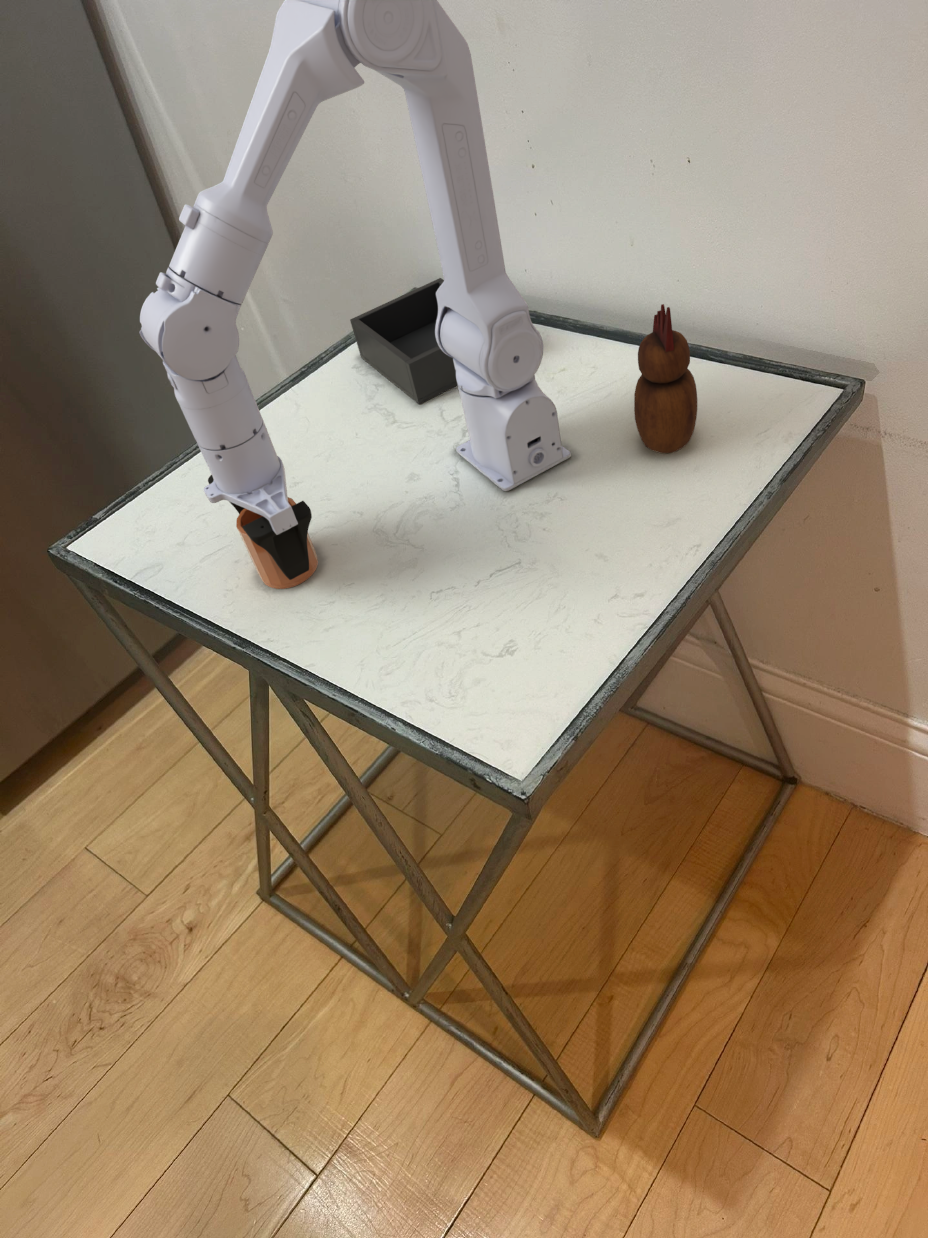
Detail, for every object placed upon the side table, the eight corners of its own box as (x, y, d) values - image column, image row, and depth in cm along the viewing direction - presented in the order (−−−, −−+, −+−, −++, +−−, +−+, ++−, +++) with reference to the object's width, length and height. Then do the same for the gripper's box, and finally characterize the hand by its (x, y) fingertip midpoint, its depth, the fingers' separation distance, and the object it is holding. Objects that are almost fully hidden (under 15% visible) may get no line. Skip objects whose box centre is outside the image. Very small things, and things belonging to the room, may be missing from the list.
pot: (327, 569, 87) (306, 515, 83) (274, 597, 86) (249, 545, 81) (303, 539, 91) (282, 487, 87) (252, 567, 90) (227, 514, 85)
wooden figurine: (696, 461, 88) (694, 315, 78) (634, 463, 90) (624, 320, 79) (698, 419, 93) (697, 275, 82) (639, 421, 94) (630, 281, 84)
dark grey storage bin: (513, 357, 107) (506, 316, 104) (419, 404, 104) (408, 364, 101) (448, 315, 117) (440, 277, 113) (360, 357, 114) (349, 319, 110)
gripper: (158, 415, 81) (216, 534, 91) (215, 491, 72) (273, 614, 81) (232, 381, 83) (280, 501, 93) (297, 450, 73) (344, 576, 83)
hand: (281, 552), depth 87 cm, fingers open, 7 cm apart
